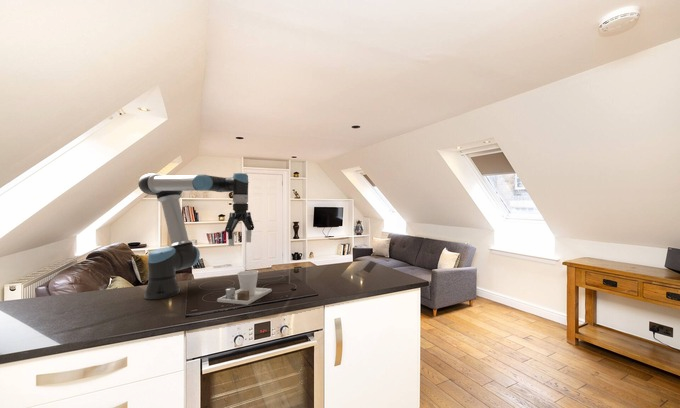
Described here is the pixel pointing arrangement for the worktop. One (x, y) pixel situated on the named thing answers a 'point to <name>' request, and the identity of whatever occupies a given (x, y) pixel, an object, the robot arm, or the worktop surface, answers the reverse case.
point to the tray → (258, 294)
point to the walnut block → (243, 295)
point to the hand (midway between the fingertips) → (240, 243)
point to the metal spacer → (230, 293)
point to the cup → (248, 281)
